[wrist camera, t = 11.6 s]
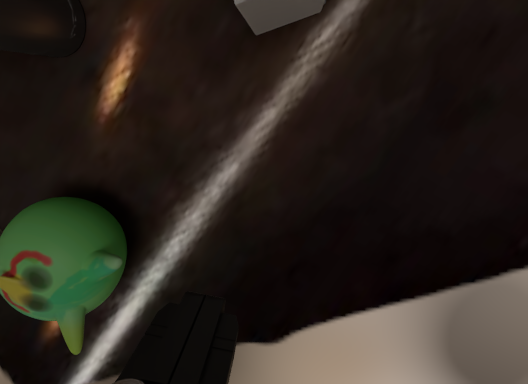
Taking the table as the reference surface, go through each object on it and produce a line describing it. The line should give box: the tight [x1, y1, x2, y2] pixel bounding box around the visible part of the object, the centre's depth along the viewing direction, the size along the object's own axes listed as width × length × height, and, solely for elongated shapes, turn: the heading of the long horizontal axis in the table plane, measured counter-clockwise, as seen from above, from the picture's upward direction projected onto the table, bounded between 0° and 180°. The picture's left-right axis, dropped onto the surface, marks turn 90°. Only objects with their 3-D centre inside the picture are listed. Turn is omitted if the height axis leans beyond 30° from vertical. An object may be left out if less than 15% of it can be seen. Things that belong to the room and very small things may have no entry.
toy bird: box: [0, 197, 127, 355], centre depth 41 cm, size 18×17×15 cm
